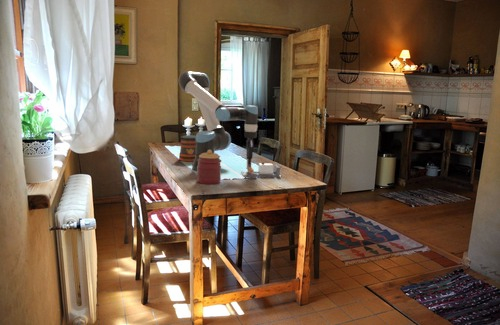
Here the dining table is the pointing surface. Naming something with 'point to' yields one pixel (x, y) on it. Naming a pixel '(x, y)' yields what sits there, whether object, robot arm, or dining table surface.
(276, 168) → the coupler rail
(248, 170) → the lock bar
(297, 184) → the dining table surface
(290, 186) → the dining table surface
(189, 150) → the beer stein
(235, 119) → the robot arm
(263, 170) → the lock block
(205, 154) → the canister
